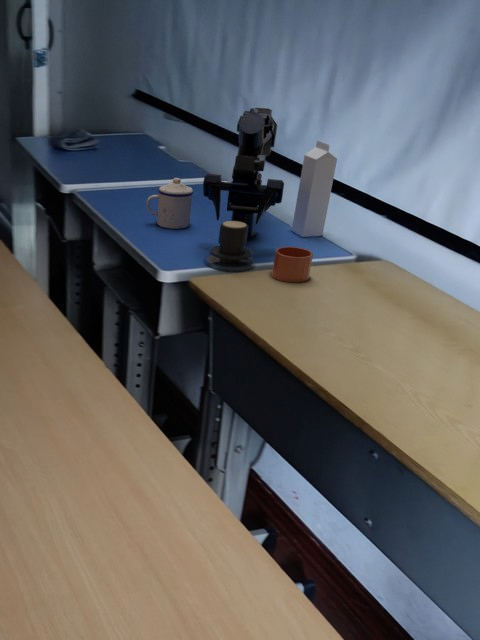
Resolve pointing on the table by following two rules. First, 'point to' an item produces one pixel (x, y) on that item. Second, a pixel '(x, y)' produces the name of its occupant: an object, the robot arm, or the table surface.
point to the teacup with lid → (173, 205)
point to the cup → (292, 264)
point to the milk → (314, 191)
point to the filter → (232, 242)
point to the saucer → (219, 265)
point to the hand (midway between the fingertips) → (237, 221)
